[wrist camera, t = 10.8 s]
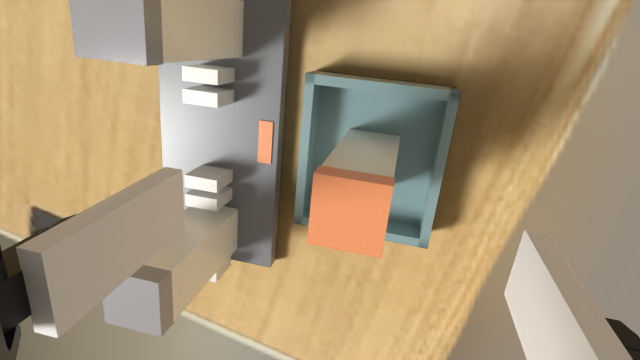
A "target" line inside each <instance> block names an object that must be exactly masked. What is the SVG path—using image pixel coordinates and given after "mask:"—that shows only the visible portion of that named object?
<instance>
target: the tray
mask: <svg viewBox="0 0 640 360" xmlns="http://www.w3.org/2000/svg"><path fill="white" fill-rule="evenodd" d="M460 96H461V91H460V90H459V89H458V88H456V87H448V86H439V85H431V84H423V83H414V82H406V81H398V80H389V79H381V78H373V77H364V76H356V75H348V74H339V73H331V72H323V71H312V72H308V73H305V86H304V98H303V110H302V123H301V135H300V147H299V159H298V172H297V184H296V196H295V209H294V221H293V223H296V224H302V225H307V226H309V216H310V205H311V195H312V184H313V174H314V172H315V171H316V169H317V168H318V167H319V166H320V165H322V164H323V163H324V161H325V160H326V159H327V158H328V156H329V155H330V154H331V152H332V151H333V150H334V149H335V147H336V146H337V145H338V143H339V142H340V141H341V139H342V138H343V137H344V136H345V134H346V133H347V132H348V130H349V129H355V130H362V131H369V132H376V133H383V134H389V135H396V136H400V143H399V149H398V155H397V162H396V168H395V174H394V178H395V182H394V188H393V194H392V200H391V205H390V211H389V217H388V223H387V229H386V234H385V241H390V242H395V243H400V244H405V245H411V246H416V247H421V248H426V249H427V248H428V243H429V239H430V234H431V229H432V225H433V220H434V216H435V211H436V206H437V202H438V197H439V193H440V188H441V183H442V179H443V174H444V170H445V165H446V160H447V156H448V151H449V147H450V142H451V137H452V133H453V128H454V124H455V119H456V114H457V110H458V105H459V101H460Z"/></svg>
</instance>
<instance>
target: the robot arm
mask: <svg viewBox="0 0 640 360" xmlns="http://www.w3.org/2000/svg"><path fill="white" fill-rule="evenodd" d="M184 230H185V223H184V198H183V173H182V170H181V169H175V168H169V167H164V168H162V169H160V170H159V171H157V172H155V173H153V174H151V175H149V176H147V177H146V178H144V179H142V180H140V181H138V182H136V183H134V184H133V185H131V186H129V187H127V188H125V189H123V190H121V191H120V192H118V193H116V194H114V195H112V196H110V197H108V198H107V199H105V200H103V201H101V202H99V203H97V204H95V205H94V206H92V207H90V208H88V209H86V210H84V211H82V212H81V213H79V214H76V215H73V216H70V217H66V218H64V219H62V220H60V221H58V222H56V223H54V224H52V225H51V227H47V228H45V229H43V230H41V231H40V232H39V233H36V234H34V235H32V236H30V237H28V238H26V239H24V240H22V241H20V242H19V243H17V244H15V245H13V246H11V247H9V248H7V249H5V250H4V251H2V250H1V246H0V360H16V355H17V351H18V346H19V342H20V337H21V330H20V326H19V323H20V322H22V321H23V320H24V319H26V318H27V317H28V316H30V315H31V318H32V323H33V327H34V332H37V333H41V334H44V335H48V336H51V337H55V338H59V337H60V336H61V335H62V334H63V333H65V332H66V331H67V330H68V329H69V328H70V327H72V326H73V325H74V324H75V323H76V322H77V321H78V320H80V319H81V318H82V317H83V316H84V315H86V314H87V313H88V312H89V311H90V310H91V309H93V308H94V307H95V306H96V305H97V304H98V303H100V302H101V301H102V300H103V299H104V298H105V297H107V296H108V295H109V294H110V293H111V292H112V291H114V290H115V289H116V288H117V287H118V286H119V285H121V284H122V283H123V282H124V281H125V280H126V279H128V278H129V277H130V276H131V275H132V274H133V273H135V272H136V271H137V270H138V269H139V268H140V267H142V266H143V265H144V264H145V263H146V262H147V261H149V260H150V259H151V258H152V257H153V256H154V255H156V254H157V253H158V252H159V251H160V250H161V249H163V248H164V247H165V246H166V245H167V244H168V243H170V242H171V241H172V240H173V239H174V238H175V237H177V236H178V235H179V234H180V233H181V232H182V231H184ZM504 295H505V298H506V301H507V304H508V306H509V310H510V312H511V315H512V318H513V321H514V324H515V327H516V330H517V333H518V336H519V339H520V341H521V344H522V347H523V350H524V353H525V356H526V359H527V360H640V338H639V337H638V336H637V335H636V334H635V333H634V332H633V331H632V330H630V329H629V328H628V327H627V326H626V325H624V324H623V323H622V322H620V321H618V320H613V319H608V318H605V317H604V316H603V314H602V313H601V311H600V310H599V309H598V307H597V305H596V304H595V302H594V301H593V299H592V298H591V297H590V295H589V294H588V292H587V291H586V289H585V288H584V286H583V285H582V283H581V282H580V280H579V279H578V277H577V276H576V274H575V273H574V271H573V270H572V268H571V267H570V265H569V264H568V262H567V261H566V259H565V258H564V256H563V255H562V253H561V252H560V250H559V249H558V247H557V246H556V244H555V243H554V241H553V240H552V238H551V237H550V235H549V234H548V233H542V232H537V231H532V230H524V233H523V236H522V240H521V242H520V246H519V249H518V252H517V255H516V258H515V261H514V264H513V268H512V271H511V274H510V277H509V280H508V283H507V286H506V289H505V293H504Z"/></svg>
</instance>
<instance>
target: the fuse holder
mask: <svg viewBox="0 0 640 360" xmlns="http://www.w3.org/2000/svg"><path fill="white" fill-rule="evenodd" d="M242 1H244V12H243V49H242V57H238V58H225V59H211V60H198V61H184V62H171V63H163V64H162V65H159V87H160V110H161V133H162V156H163V168H164V167H169V168H175V169H181V170H182V173H183V198H184V210H185V209H187V208H188V207H189V206H190V207H195V208H200V209H205V210H210V211H215V212H217V211H218V210H219V209H221V208H222V207H223V206H225V207H230V208H236V209H238V234H237V249H236V250H235V251H234V253H233V254H232V255H231V256H230V257H229V258H228V259H227V261H226V262H225V263H224V264H223V265H222V266H221V267H220V269H219V270H218V271H217V272H216V273H215V274H214V275H213V277H212V278H211V279H210V280H209V281H212V282H217V281H218V280H219V279H220V277H221V276H222V275H223V274H224V273H225V271H226V270H227V269H228V268H229V267H230V266H231V259H232V260H237V261H241V262H246V263H251V264H255V265H260V266H265V267H269V268H270V267H271V266H272V264H273V263H274V261H275V256H276V241H277V226H278V210H279V195H280V180H281V165H282V150H283V135H284V119H285V104H286V89H287V74H288V59H289V44H290V28H291V13H292V0H242Z"/></svg>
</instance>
